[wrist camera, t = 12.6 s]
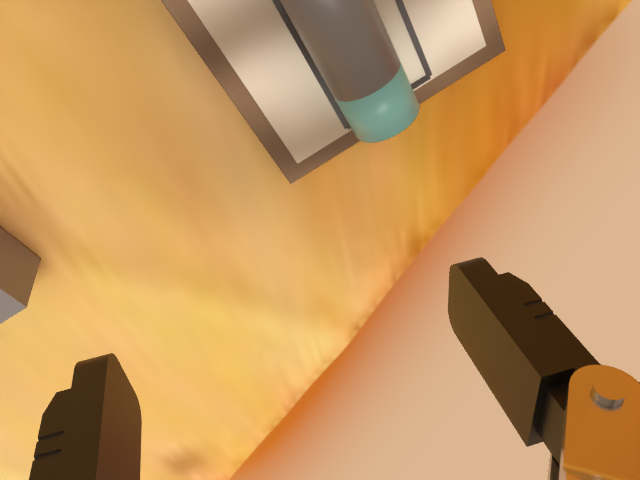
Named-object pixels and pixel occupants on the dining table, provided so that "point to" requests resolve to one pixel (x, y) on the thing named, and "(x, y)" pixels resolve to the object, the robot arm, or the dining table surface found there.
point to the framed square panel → (304, 76)
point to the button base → (15, 275)
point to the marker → (357, 64)
